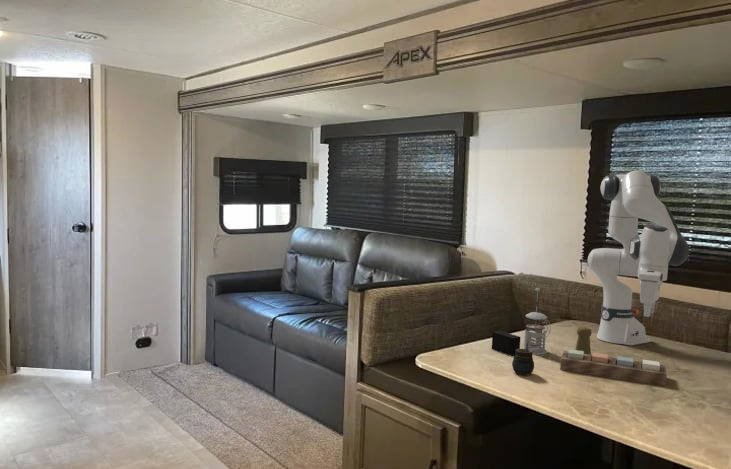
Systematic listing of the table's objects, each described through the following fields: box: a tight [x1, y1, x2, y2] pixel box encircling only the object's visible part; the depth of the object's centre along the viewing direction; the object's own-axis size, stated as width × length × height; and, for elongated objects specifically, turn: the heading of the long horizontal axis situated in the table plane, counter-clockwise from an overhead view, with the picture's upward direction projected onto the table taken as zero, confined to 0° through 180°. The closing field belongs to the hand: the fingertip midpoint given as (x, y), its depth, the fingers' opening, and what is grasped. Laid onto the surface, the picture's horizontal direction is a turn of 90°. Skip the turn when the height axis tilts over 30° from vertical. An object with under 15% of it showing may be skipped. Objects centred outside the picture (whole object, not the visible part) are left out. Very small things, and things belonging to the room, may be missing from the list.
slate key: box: [616, 355, 634, 367], centre depth 198 cm, size 5×5×2 cm
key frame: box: [559, 350, 668, 387], centre depth 200 cm, size 33×11×4 cm, turn 66°
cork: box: [574, 326, 592, 355], centre depth 220 cm, size 6×6×11 cm
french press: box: [521, 287, 552, 356], centre depth 224 cm, size 10×12×25 cm
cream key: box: [642, 359, 661, 371], centre depth 195 cm, size 5×5×2 cm
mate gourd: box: [511, 342, 535, 376], centre depth 196 cm, size 7×8×10 cm
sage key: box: [568, 348, 584, 360], centre depth 205 cm, size 5×5×2 cm
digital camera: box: [491, 330, 521, 357], centre depth 222 cm, size 10×5×7 cm, turn 35°
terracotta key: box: [591, 352, 609, 363], centre depth 201 cm, size 5×5×2 cm
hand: (648, 314), depth 194 cm, fingers open, 8 cm apart
